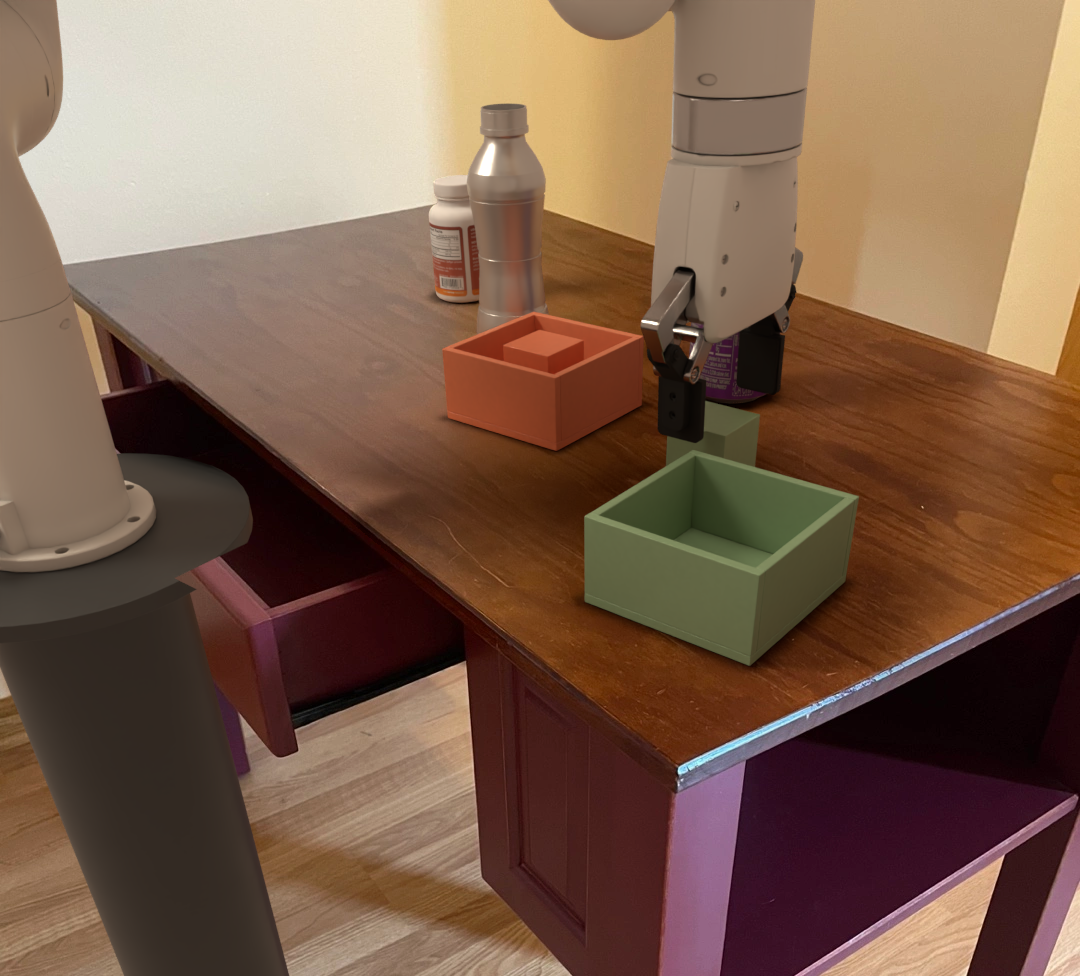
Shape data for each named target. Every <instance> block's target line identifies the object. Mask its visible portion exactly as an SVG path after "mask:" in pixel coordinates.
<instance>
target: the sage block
mask: <svg viewBox="0 0 1080 976" xmlns="http://www.w3.org/2000/svg"><path fill="white" fill-rule="evenodd" d="M760 420H761V414H760V413H755V412H752V411H747V410H744V409H739V408H735V407H732V406H727V405H724V404H721V403H719V404H718V403H717V402H713V401H709V400H705V419H704V437H703V439H702V440H701V441H699V442H697V443H692V442H688V441H684V440H680V439H677V438H673V437H669V436H666V453H665V454H666V455H665V467H666V466H667V465H669V464H671V463H672V462H674V461H676V460H677V459H679V458H680V457H682V456H684V455H685V454H687V453H689V452H690V451H692V450H696V451H699V452H703V453H706V454H710V455H714V456H717V457H721V458H724V459H728V460H731V461H735V462H738V463H742V464H746V465H749V466H753V467H756V461H757V451H758V441H759V440H758V439H759V430H760V429H759V428H760Z"/></svg>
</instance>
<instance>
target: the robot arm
mask: <svg viewBox="0 0 1080 976" xmlns="http://www.w3.org/2000/svg"><path fill="white" fill-rule="evenodd" d="M547 1H548V2H549V4H550V5H551V7H552V9H553V10H554V11H555V12H556V13H557V15H558V16H559V17H560V18H561V19H562V20H563V21H564V22H565V23H566V24H567V25H569V26H570V27H571V28H572V29H574V30H575V31H577V32H579V33H580V34H582V35H585V36H588V37H590V38H593V39H596V40H602V41H621V40H625V39H629V38H632V37H635V36H638V35H640V34H642V33H644V32H645V31H647V30H649V29H651V28H652V27H653V26H654V25H656V24H657V23H658V22H659V21H660V20H661V19H662V18H663V17H664V16H665V15H666V14H667V13H668V12H672V14H673V19H674V22H673V23H674V26H673V29H674V30H673V62H672V63H673V66H672V68H673V69H672V103H671V106H672V107H671V141H670V143H671V145H670V146H671V148H670V156H671V159H669V160H667V162H666V168H665V172H664V176H663V180H662V186H661V192H660V197H659V198H660V199H659V203H658V209H657V210H658V211H657V219H656V226H655V239H654V249H653V251H654V252H653V263H652V276H651V277H652V278H651V297H650V298H651V299H650V307H649V309H648V310H647V311H646V312H645V314H644V315H643V316H642V318H641V321H640V332H641V334H642V336H643V337H644V343H645V346H646V357H647V360H648V361H649V362H650V363H651V365H652V366H653V367H652V373H653V374H654V376H656V377H658V382H657V383H658V384H657V385H658V388H657V424H656V425H657V427H656V428H657V431H658V433H659V434H660V435H663V436H666V437H667V436H669V437H673V438H677V439H680V440H684V441H688V442H692V443H697V442H699V441H701V440H702V439H703V437H704V419H705V401H706V400H707V399H706V380H704V379H699V378H700V375H701V373H702V370H703V368H704V365H705V363H706V360H707V358H708V355H709V353H710V350H711V348H712V345H713V343H717V342H720V341H722V340H724V339H726V338H728V337H730V336H732V335H734V334H736V333H738V332H740V333H739V348H738V363H737V378H736V384H737V386H738V387H740V388H743V389H748V390H752V391H757V392H761V393H766V395H770V396H773V395H776V394H777V393H779V392H780V391H781V386H782V385H781V384H782V374H783V363H784V352H785V350H784V349H785V341H786V334H785V333H787V332H788V330H789V327H790V324H791V316H790V314H789V311H790V308H791V306H792V304H793V302H794V300H795V299H796V294H797V287H796V284H797V281H798V277H799V274H800V271H801V267H802V264H803V261H804V253H803V252H802V251H801V250H800V249H799V248H798V247H796V244H797V227H798V200H799V199H798V198H799V197H798V194H799V193H798V191H799V189H798V188H799V185H798V184H799V182H798V181H799V179H798V178H799V177H798V176H799V175H798V172H799V171H798V157H799V156H801V154H802V152H803V138H804V127H805V116H806V107H807V106H806V105H807V97H808V96H807V94H808V84H809V74H810V63H811V62H810V61H811V51H812V43H813V41H812V40H813V30H814V18H815V16H814V15H815V6H816V0H547ZM58 11H59V10H58V2H57V0H0V570H1V571H9V572H25V573H35V572H47V571H55V570H61V569H67V568H73V567H77V566H80V565H84V564H88V563H92V562H94V561H97V560H100V559H103V558H106V557H108V556H111V555H113V554H115V553H117V552H120V551H122V550H124V549H125V548H127V547H129V546H130V545H132V544H134V543H135V542H136V541H138V540H139V539H140V538H141V537H143V536H144V535H145V534H146V533H147V532H148V530H149V529H150V528H151V527H152V526H153V523H154V521H155V519H156V509H155V505H154V502H153V498H152V496H151V495H150V493H149V492H148V491H147V490H145V489H144V488H142V487H141V486H139V485H137V484H134V483H132V482H129V481H125V480H124V478H123V475H122V471H121V468H120V464H119V461H118V457H117V454H118V453H117V450H116V447H115V443H114V439H113V436H112V432H111V429H110V425H109V422H108V418H107V415H106V411H105V408H104V404H103V400H102V397H101V394H100V390H99V387H98V383H97V379H96V376H95V371H94V368H93V364H92V362H91V357H90V355H89V350H88V346H87V343H86V340H85V337H84V333H83V329H82V326H81V322H80V319H79V315H78V312H77V307H76V305H75V300H74V298H73V294H72V290H71V289H70V285H69V281H68V278H67V275H66V271H65V267H64V265H63V261H62V258H61V254H60V251H59V248H58V246H57V242H56V240H55V237H54V234H53V233H52V229H51V227H50V225H49V222H48V220H47V218H46V215H45V213H44V210H43V209H42V207H41V204H40V202H39V200H38V198H37V196H36V194H35V192H34V190H33V188H32V186H31V183H30V182H29V179H28V177H27V175H26V173H25V170H24V168H23V166H22V162H21V160H20V157H21V156H23V155H25V154H27V153H29V152H30V151H32V150H34V149H35V148H36V147H37V146H38V145H39V144H40V143H41V142H42V141H43V140H45V138H46V137H47V136H48V135H49V134H50V132H51V130H53V127H54V126H55V124H56V121H57V120H58V118H59V114H60V111H61V108H62V102H63V96H64V95H63V94H64V67H63V66H64V64H63V51H62V41H61V31H60V21H59V12H58ZM691 322H692V323H697V324H703V325H704V327H703V329H702V328H697V327H692V326H691V325H687V324H688V323H691ZM747 327H750V329H749V328H747ZM682 341H683V342H686V343H687V342H688V343H690V342H692V343H695V344H694V347H693V349H692V351H691V354H690V356H689V355H688V356H687V355H686V353H685V352H684V350H683V349H682V348H681V346H680V345H681V344H682Z"/></svg>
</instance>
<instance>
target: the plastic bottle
mask: <svg viewBox="0 0 1080 976" xmlns="http://www.w3.org/2000/svg"><path fill="white" fill-rule="evenodd" d="M479 113H480V126H479V134H480V135H482V136H483V143H482V144H481V146H480V147H479V149H478V150H477V152H476V153H475V155H474V158H473V160H472V162H471V163H470V166H469V168H468V172H467V175H468V176H467V189H468V194H469V200H470V205H471V210H472V215H473V220H474V225H475V231H476V240H477V248H478V250H479V254H478V257H479V266H480V275H479V300H478V304H479V305H478V307H477V315H476V329H475V331H476V335H477V334H480V333H482V332H485V331H487V330H490V329H492V328H495V327H497V326H499V325H502V324H504V323H507V322H509V321H512V320H514V319H517V318H519V317H522V316H524V315H527V314H530V313H532V312H538V313H542V314H547V315H550V312H549V309H548V308H549V307H548V304H547V303H546V293H545V284H544V275H543V267H542V266H543V265H542V251H541V250H542V246H543V244H542V243H543V239H542V238H543V219H544V209H545V199H546V198H545V197H546V194H545V193H546V186H547V185H546V183H547V181H546V180H547V178H546V175H545V171H544V168H543V166H542V164H541V162H540V159H538V157H537V155H536V153H535V152H534V150H533V149H532V147H531V146H530V145H529V143H528V142H527V140H526V134H528V133H529V132H530V130H529V129H530V128H529V124H528V108H527V105H526V104H522V103H492V104H486V105H483V106H481V107H480V112H479Z"/></svg>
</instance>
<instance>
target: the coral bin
mask: <svg viewBox="0 0 1080 976" xmlns="http://www.w3.org/2000/svg"><path fill="white" fill-rule="evenodd" d="M538 330H542V331H547V332H551V333H555V334H560V335H564V336H568V337H572V338H577V339H581V340H584V360H583V361H581V362H579V363H577V364H575V365H573V366H571V367H568V368H566V369H564V370H562V371H560V372H558V373H556V374H550V373H547V372H543V371H539V370H535V369H531V368H527V367H523V366H520V365H516V364H512V363H508V362H504V352H503V345H505V344H507V343H510V342H512V341H514V340H517V339H519V338H521V337H524V336H526V335H528V334H531V333H533V332H536V331H538ZM644 343H645V340H644V337H643V335H641V334H636V333H631V332H626V331H622V330H618V329H615V328H614V329H613V328H609V327H604V326H599V325H595V324H592V323H591V324H590V323H587V322H583V321H578V320H573V319H568V318H564V317H560V316H555V315H551V314H549V315H547V314H542V313H538V312H532V313H530V314H527V315H524V316H522V317H519V318H517V319H514V320H512V321H509V322H507V323H504V324H502V325H499V326H497V327H495V328H492V329H490V330H487V331H485V332H482V333H480V334H477V333H476V334H474V335H472V336H470V337H468V338H465V339H463V340H460V341H457V342H455V343H452V344H450V345H448V346H446V347H443V348H442V349H441V350H442V363H443V375H444V385H445V386H444V388H445V399H446V410H447V413H446V414H447V418H448V419H450V420H453V421H456V422H460V423H463V424H466V425H469V426H473V427H476V428H479V429H483V430H486V431H489V432H492V433H496V434H499V435H503V436H506V437H509V438H512V439H515V440H519V441H523V442H525V443H529V444H533V445H535V446H539V447H541V448H545V449H548V450H551V451H554V452H558V451H560V450H561V449H563V448H565V447H567V446H568V445H571V444H573V443H574V442H577V441H578V440H580V439H582V438H584V437H585V436H587V435H589V434H591V433H593V432H595V431H597V430H599V429H601V428H602V427H604V426H606V425H608V424H609V423H611V422H613V421H615V420H617V419H619V418H621V417H623V416H624V415H626V414H628V413H630V412H632V411H633V410H635V409H637V408H639V407H641V406H642V405H643V380H644V379H643V378H644V377H643V375H644V346H645V344H644Z"/></svg>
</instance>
